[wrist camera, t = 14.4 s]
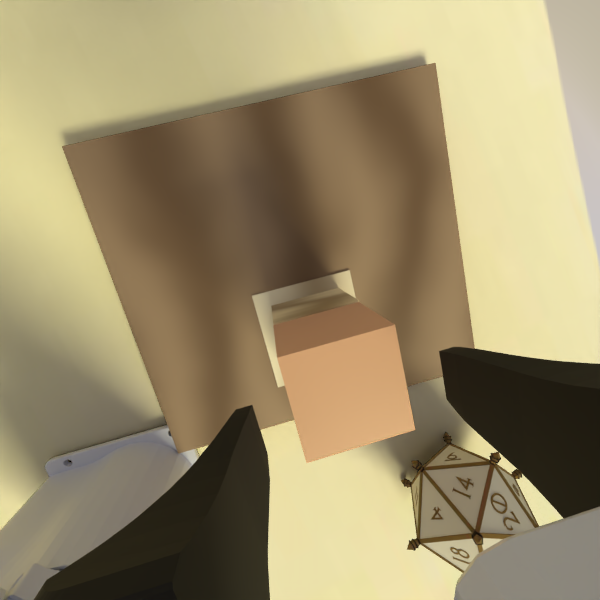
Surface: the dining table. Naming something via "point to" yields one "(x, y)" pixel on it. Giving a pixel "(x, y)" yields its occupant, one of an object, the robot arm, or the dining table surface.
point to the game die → (465, 504)
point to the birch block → (311, 305)
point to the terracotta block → (343, 379)
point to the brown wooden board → (277, 236)
